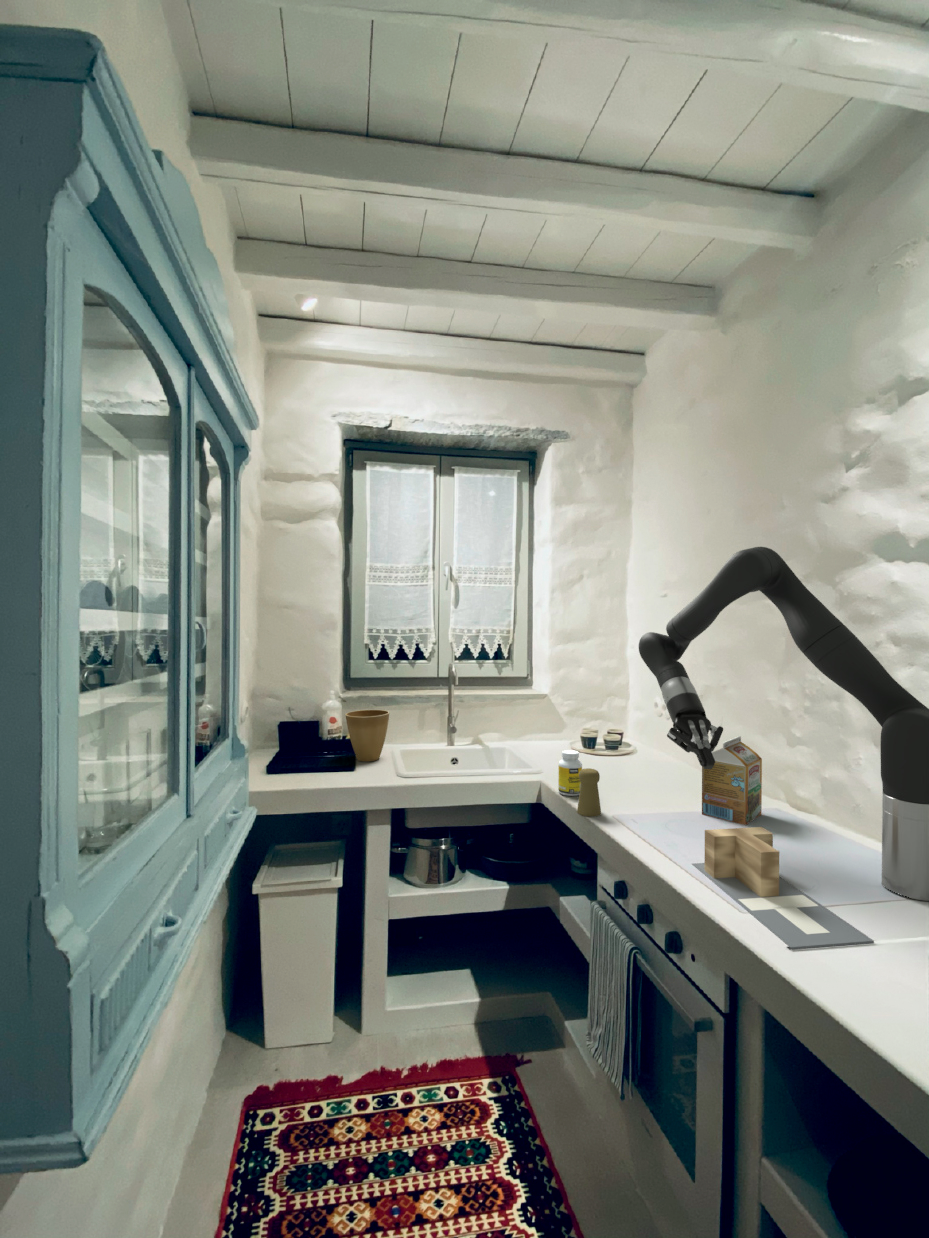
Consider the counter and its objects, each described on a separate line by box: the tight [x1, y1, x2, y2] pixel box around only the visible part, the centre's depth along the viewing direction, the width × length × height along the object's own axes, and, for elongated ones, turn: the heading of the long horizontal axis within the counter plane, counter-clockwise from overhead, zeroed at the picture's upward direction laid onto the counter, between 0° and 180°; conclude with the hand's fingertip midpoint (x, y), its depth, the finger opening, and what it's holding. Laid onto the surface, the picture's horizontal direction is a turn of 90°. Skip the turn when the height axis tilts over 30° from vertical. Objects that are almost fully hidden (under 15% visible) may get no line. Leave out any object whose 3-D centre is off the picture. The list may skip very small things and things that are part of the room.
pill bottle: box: [558, 749, 583, 797], centre depth 168 cm, size 6×6×12 cm
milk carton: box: [701, 735, 763, 826], centre depth 151 cm, size 11×10×19 cm
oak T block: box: [704, 826, 780, 897], centre depth 113 cm, size 12×12×8 cm
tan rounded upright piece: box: [576, 767, 602, 818], centre depth 152 cm, size 6×6×11 cm
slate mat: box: [691, 862, 875, 951], centre depth 107 cm, size 14×30×1 cm, turn 7°
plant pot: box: [345, 709, 390, 763], centre depth 206 cm, size 15×15×16 cm
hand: (709, 767), depth 128 cm, fingers closed
